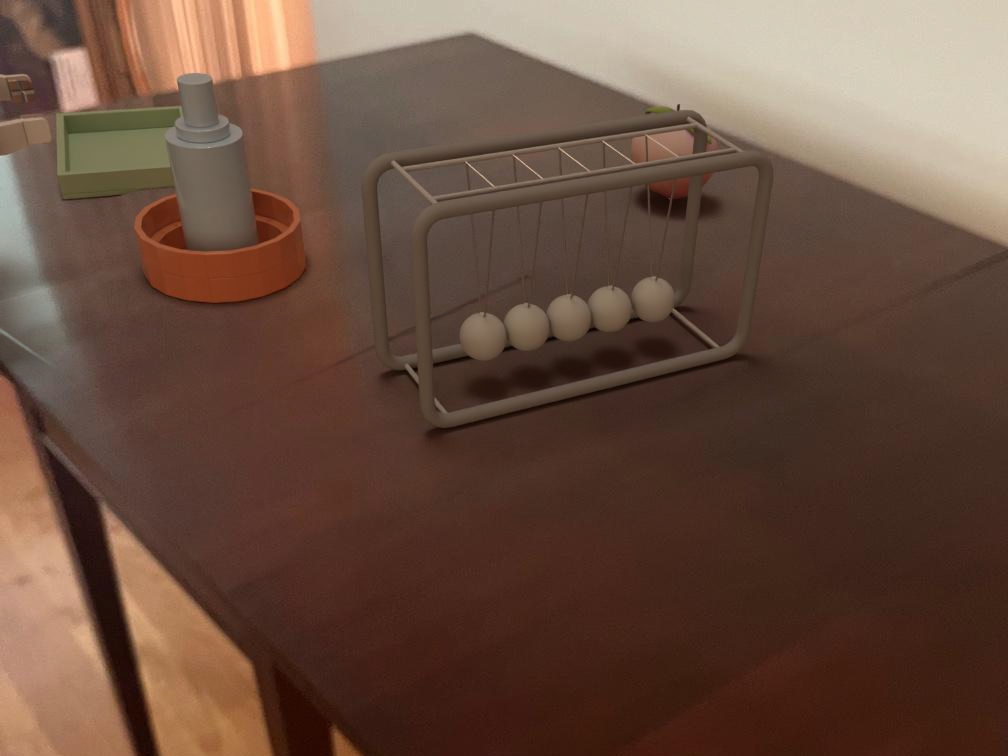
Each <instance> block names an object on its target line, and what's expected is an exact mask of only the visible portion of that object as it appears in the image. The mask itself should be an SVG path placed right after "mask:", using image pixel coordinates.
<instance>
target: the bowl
mask: <svg viewBox="0 0 1008 756" xmlns="http://www.w3.org/2000/svg"><path fill="white" fill-rule="evenodd" d="M251 191H252V197H253V204H254V211H255V218H256V224H257V231H258V238H259V244H258V245H255V246H251V247H246V248H240V249H235V250H227V251H208V252H204V251H192V250H186V245H185V240H184V235H183V230H182V224H181V219H180V214H179V209H178V204H177V199H176V193H174V194H170V195H167V196H163V197H161V198H159V199H157V200H155V201H154V202H152V203H150V204H148V205H145V207H143V209H142V210H141V211H140V212H139V213H138V214H137V215H136V216H135V218H134V225H133V230H134V235H135V238H136V239H135V240H136V244H137V248H138V253H139V257H140V261H141V266H142V270H143V274H144V277H145V278H146V280H147V281H148V283H149V284H150V286H151V287H152V288H153V289H155V290H157V291H159V292H160V293H162V294H164V295H166V296H169V297H173V298H175V299H181V300H183V301H186V302H187V301H188V302H201V303H211V304H216V303H217V304H218V303H219V304H221V303H234V302H242V301H243V302H244V301H249V300H253V299H257V298H262V297H265V296H268V295H270V294H274V293H275V292H279V291H281V290H283V289H285V288H287V287H289V286H290V285H291V284H293V283H294V282H295V281H297V280H298V279H300V278H301V276H302V274H303V272H304V271H305V270H306V268H307V260H306V253H305V244H304V237H303V229H302V220H301V212H300V211H301V210H300V208H298V207H297V206H296V205H295V204H294V203H293V202H292V201H291V200H290V199H288V198H285V197H283V196H281V195H279V194H277V193H274V192H270V191H266V190H261V189H258V188H251Z"/></svg>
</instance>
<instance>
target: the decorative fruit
mask: <svg viewBox="0 0 1008 756" xmlns="http://www.w3.org/2000/svg"><path fill="white" fill-rule="evenodd" d="M680 110H681V104H680V103H678V104H676V110H675V109H673V108H671V107H669V106H663V105H662V106H651V107H649V108H648V109H646V111H645V112H644V114H645V115H650V114H652V113H653V114H659V113H666V112H673V111H680ZM707 128H708V129H709V130H711V131H712V129H711V128H710V127H709V126H708V125H707ZM648 136H649V137H651V138H652V139H654V140H655V141H657V142H658V143H660V144H661V145H663V146H664V147H665V148H667V149H668V150H670V151H671V152H673V153H674V154H676V155H677V156H685V155H691V154H692V153H693V143H694V130H693V129H687V130H680V131H674V132H667V133H660V134H654V135H648ZM631 139H632V140H631V144H630V156H631V157H630V158H631V161H632V162H634V163H635V164H636V163H642V162H646V143H645V136H641V137H634V138H631ZM647 143H648V161H654V160H660V159H667V158H673V157H676V156H675V155H674V154H672V153H671V152H669V151H668V150H666V149H665V148H663V147H662V146H660V145H659V144H657V143H656V142H654V141H653V140H651V139H650V138H648V137H647ZM718 143H719V142H718V141H717V140H715V139H714V138H712V137H711V136H709V135H708V139H707V148H706V152H710V151H716V150H720V149H719V144H718ZM713 157H714V156H713ZM707 158H708V157H707ZM664 165H665V164H664ZM658 166H659V165H658ZM652 167H653V166H652ZM646 168H647V167H646ZM640 169H641V168H640ZM713 175H714V173H708V174H704V175H703V184H702V188H703V187H704V186H705V185H706V184H707V183H708V182H709V181H710V179H711V178H712V177H713ZM689 181H690V177H685V178H679V179H676V183H675V189H674V194H673V199H674V200H679V199H682V198H686V197H688V191H689ZM673 183H674V179H673V180H667V181H662V182H656V183H650V184H649V190H650V191H652V192H654V193H657V194H658V195H660V196H662V197H664V198H666V199H667V198H670V199H671V194H672V189H673ZM644 186H645V187H647V184H644Z"/></svg>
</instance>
